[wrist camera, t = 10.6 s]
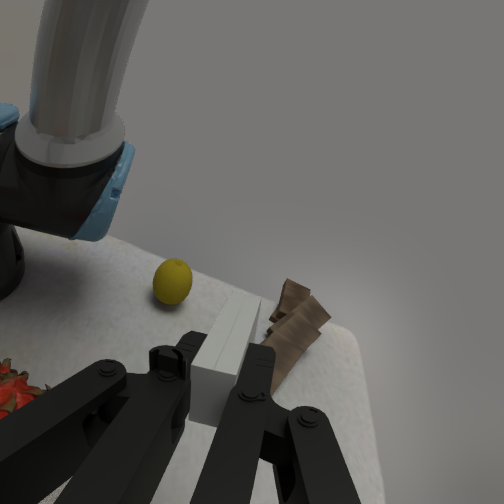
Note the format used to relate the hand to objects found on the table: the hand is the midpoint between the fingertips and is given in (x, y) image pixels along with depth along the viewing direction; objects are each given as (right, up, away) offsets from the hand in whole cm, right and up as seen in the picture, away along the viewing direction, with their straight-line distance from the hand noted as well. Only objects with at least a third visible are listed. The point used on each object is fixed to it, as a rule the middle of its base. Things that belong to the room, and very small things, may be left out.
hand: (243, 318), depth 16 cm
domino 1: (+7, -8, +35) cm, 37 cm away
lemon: (-12, -4, +30) cm, 33 cm away
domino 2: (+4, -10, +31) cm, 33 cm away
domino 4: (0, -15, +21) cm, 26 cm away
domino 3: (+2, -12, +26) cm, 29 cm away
